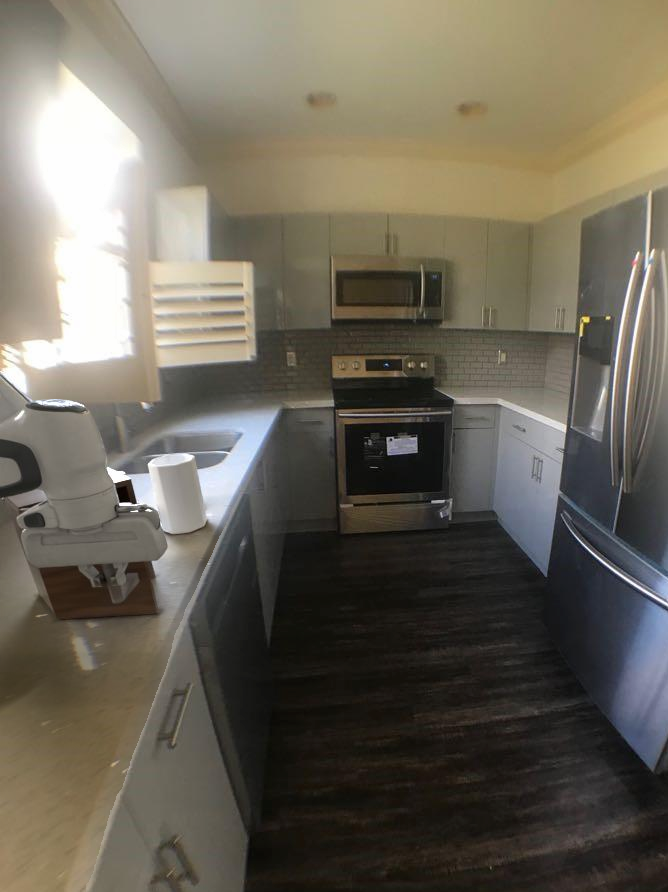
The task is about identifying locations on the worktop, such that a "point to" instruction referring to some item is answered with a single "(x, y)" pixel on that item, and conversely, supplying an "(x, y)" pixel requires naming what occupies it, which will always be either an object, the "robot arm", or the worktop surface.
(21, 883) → the worktop surface
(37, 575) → the cupboard
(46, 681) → the worktop surface
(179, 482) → the cup
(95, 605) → the cupboard door
